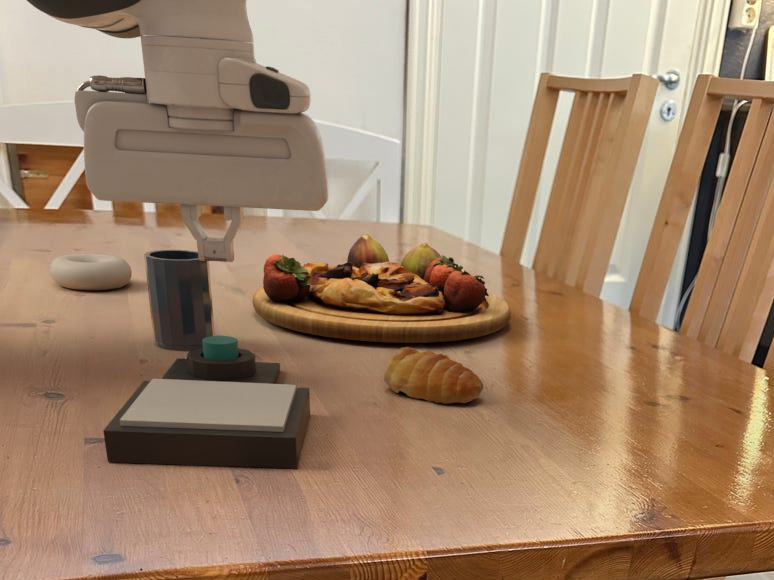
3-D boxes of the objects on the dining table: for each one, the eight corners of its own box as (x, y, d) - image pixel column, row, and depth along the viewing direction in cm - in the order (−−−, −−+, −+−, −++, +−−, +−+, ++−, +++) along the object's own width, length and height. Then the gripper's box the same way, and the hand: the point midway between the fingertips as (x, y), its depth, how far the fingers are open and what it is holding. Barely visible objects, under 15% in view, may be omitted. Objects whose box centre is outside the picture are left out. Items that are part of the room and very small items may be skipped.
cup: (148, 350, 97) (138, 258, 92) (161, 336, 102) (152, 248, 97) (209, 353, 97) (202, 261, 93) (219, 338, 102) (212, 251, 98)
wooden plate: (253, 347, 100) (248, 266, 96) (252, 287, 127) (249, 222, 123) (538, 351, 107) (545, 275, 103) (481, 293, 134) (484, 231, 129)
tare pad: (160, 390, 85) (157, 363, 84) (177, 367, 92) (175, 341, 91) (271, 395, 86) (269, 368, 85) (280, 371, 93) (279, 346, 92)
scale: (107, 462, 69) (101, 423, 68) (147, 409, 81) (142, 374, 79) (297, 469, 71) (295, 430, 69) (310, 415, 82) (309, 381, 80)
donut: (50, 279, 124) (53, 293, 116) (45, 251, 122) (49, 263, 114) (129, 278, 127) (137, 291, 120) (125, 251, 126) (134, 263, 118)
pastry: (495, 396, 91) (498, 357, 89) (460, 413, 85) (462, 372, 83) (414, 378, 94) (415, 339, 92) (376, 393, 89) (376, 353, 87)
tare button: (201, 362, 86) (199, 343, 86) (207, 353, 89) (205, 334, 88) (236, 363, 87) (234, 344, 86) (241, 354, 90) (239, 336, 89)
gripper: (58, 73, 73) (87, 261, 80) (322, 89, 75) (327, 271, 82) (81, 73, 78) (106, 249, 85) (327, 88, 80) (331, 259, 87)
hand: (216, 260), depth 84 cm, fingers closed
